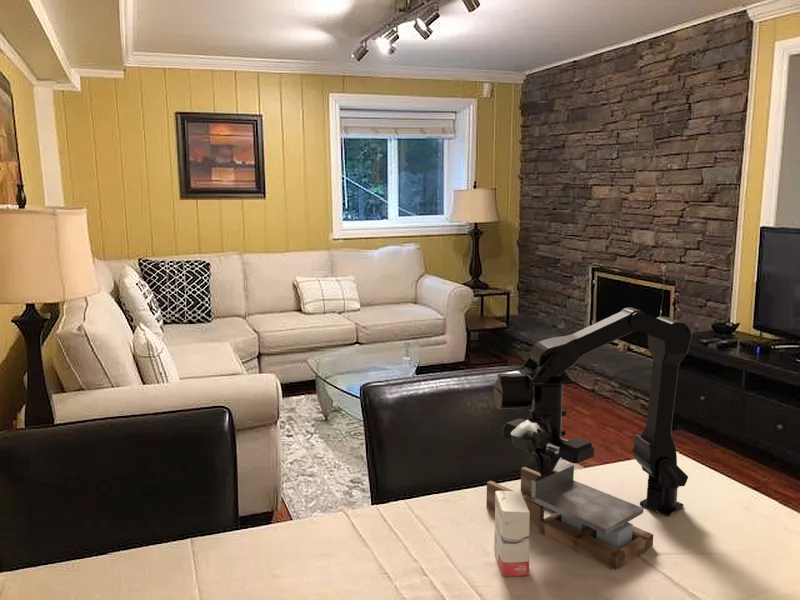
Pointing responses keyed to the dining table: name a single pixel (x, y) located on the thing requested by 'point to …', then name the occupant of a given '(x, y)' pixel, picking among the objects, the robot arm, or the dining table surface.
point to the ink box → (511, 533)
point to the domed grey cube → (617, 536)
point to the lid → (581, 501)
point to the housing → (571, 536)
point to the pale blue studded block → (574, 524)
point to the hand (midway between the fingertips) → (545, 480)
